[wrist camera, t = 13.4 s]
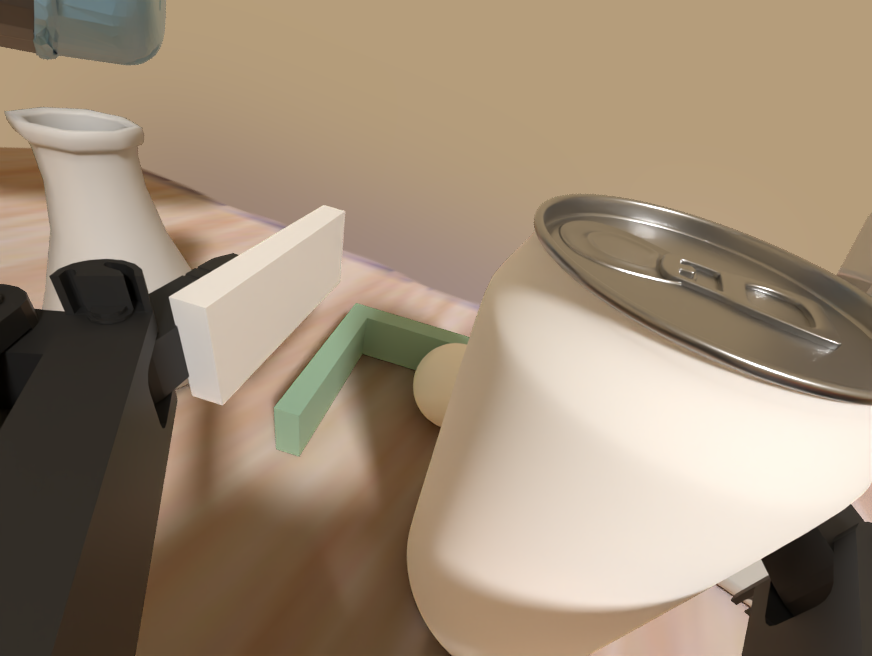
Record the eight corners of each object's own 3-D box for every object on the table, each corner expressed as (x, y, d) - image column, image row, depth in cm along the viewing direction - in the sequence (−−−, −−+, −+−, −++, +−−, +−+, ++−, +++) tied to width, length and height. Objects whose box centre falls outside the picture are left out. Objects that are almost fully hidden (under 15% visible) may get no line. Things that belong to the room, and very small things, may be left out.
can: (459, 448, 17) (567, 168, 9) (602, 539, 14) (885, 273, 7) (363, 587, 12) (429, 240, 5) (555, 753, 10) (1240, 605, 2)
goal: (588, 550, 14) (620, 518, 13) (276, 449, 15) (273, 407, 14) (569, 405, 21) (589, 373, 20) (352, 338, 22) (356, 303, 20)
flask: (-5, 367, 15) (-183, 88, 10) (155, 293, 21) (102, 91, 16) (137, 435, 14) (30, 167, 9) (264, 337, 20) (251, 139, 15)
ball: (394, 395, 19) (397, 356, 16) (452, 355, 21) (466, 312, 17) (445, 459, 17) (460, 429, 14) (503, 410, 19) (528, 373, 16)
